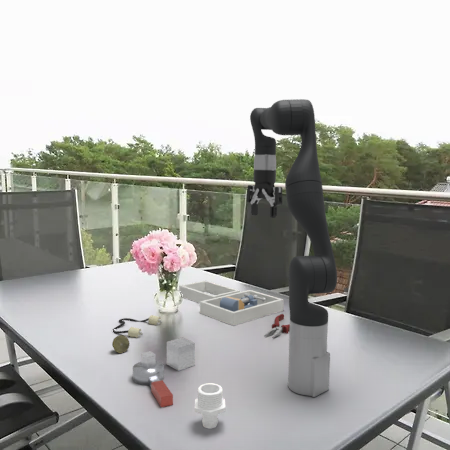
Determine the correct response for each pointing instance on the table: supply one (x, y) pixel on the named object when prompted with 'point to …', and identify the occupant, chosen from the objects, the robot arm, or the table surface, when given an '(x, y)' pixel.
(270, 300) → the white tray
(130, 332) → the cable
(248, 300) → the vise
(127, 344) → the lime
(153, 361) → the ratchet
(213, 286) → the grey tray
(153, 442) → the table surface
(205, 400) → the pipe fitting
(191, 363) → the pale grey cube
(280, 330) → the pliers
